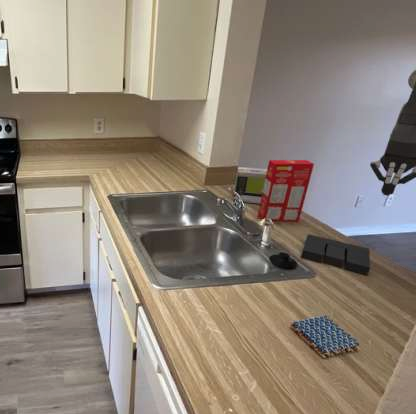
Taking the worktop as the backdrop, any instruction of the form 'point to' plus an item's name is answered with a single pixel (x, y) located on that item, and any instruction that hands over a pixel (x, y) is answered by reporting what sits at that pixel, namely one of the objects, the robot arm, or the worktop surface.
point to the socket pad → (354, 255)
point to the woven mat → (324, 336)
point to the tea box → (250, 184)
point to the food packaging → (285, 190)
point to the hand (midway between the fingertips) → (386, 194)
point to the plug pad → (334, 256)
